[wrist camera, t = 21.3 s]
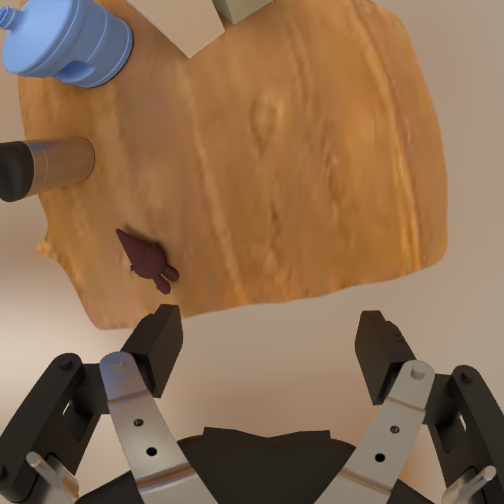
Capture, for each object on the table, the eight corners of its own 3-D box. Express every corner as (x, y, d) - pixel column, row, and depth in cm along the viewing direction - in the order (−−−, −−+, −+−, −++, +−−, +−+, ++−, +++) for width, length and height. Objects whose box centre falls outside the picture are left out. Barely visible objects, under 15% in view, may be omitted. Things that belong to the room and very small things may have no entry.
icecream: (97, 250, 47) (155, 305, 51) (114, 228, 43) (177, 290, 47) (117, 231, 52) (170, 282, 57) (135, 209, 49) (192, 266, 53)
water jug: (99, 13, 36) (13, -33, 10) (150, 32, 38) (62, -33, 12) (60, 74, 41) (-40, 59, 14) (104, 100, 43) (-9, 84, 17)
